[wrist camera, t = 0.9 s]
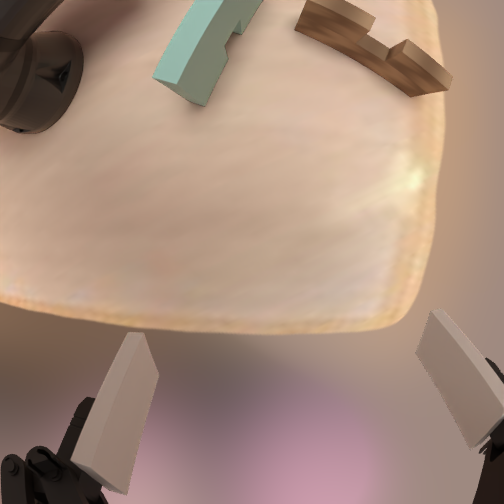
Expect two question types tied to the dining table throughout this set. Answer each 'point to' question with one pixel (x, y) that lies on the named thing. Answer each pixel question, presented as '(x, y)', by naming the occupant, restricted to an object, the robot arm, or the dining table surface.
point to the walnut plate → (372, 47)
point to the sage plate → (202, 47)
